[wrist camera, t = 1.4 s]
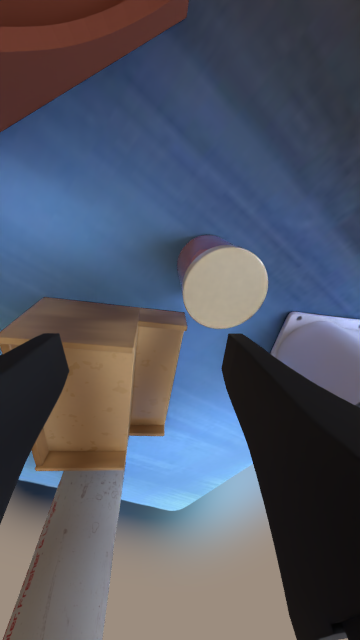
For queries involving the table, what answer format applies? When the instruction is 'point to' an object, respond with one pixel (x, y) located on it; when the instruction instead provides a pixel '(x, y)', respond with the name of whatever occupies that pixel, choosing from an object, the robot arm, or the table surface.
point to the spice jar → (220, 282)
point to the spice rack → (102, 378)
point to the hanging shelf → (69, 44)
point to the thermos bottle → (71, 562)
